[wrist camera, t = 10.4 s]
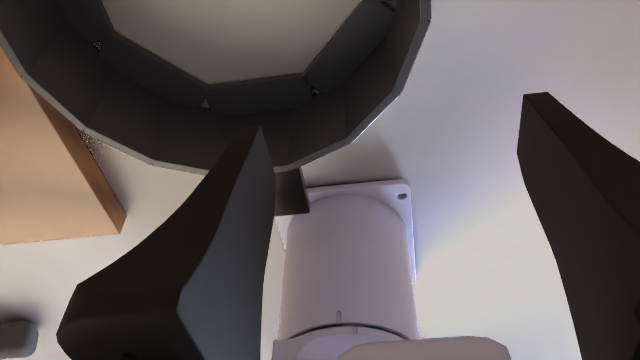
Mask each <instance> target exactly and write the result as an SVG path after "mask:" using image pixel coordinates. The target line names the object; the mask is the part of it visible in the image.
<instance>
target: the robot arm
mask: <svg viewBox="0 0 640 360" xmlns="http://www.w3.org/2000/svg"><path fill="white" fill-rule="evenodd" d="M517 156H518V160H519V164H520V168H521V172H522V176H523V179H524V183H525V186H526V188H527V191H528V193H529V196H530V198H531V201H532V203H533V206H534V208H535V210H536V213H537V215H538V217H539V220H540V222H541V225H542V227H543V229H544V232H545V234H546V236H547V239H548V241H549V244H550V246H551V248H552V251H553V254H554V257H555V259H556V262H557V265H558V269H559V272H560V276H561V279H562V283H563V286H564V290H565V293H566V297H567V301H568V305H569V308H570V312H571V316H572V320H573V323H574V327H575V332H576V336H577V340H578V344H579V348H580V352H581V356H582V360H640V162H639V161H638V160H636V159H634V158H633V157H631V156H630V155H628V154H627V153H625V152H624V151H622V150H621V149H619V148H618V147H616V146H615V145H613V144H612V143H610V142H609V141H608V140H606V139H605V138H603V137H602V136H601V135H599V134H598V133H597V132H595V131H594V130H593V129H592V128H590V127H589V126H588V125H586V124H585V123H584V122H583V121H582V120H580V119H579V118H578V117H577V116H575V115H574V114H573V113H572V112H571V111H569V110H568V109H567V108H566V107H565V106H564V105H562V104H561V103H560V102H559V101H558V100H556V99H555V98H554V97H553V96H552V95H551V94H549V93H548V92H542V93H533V94H524V95H523V103H522V112H521V120H520V129H519V138H518V147H517ZM306 189H307V193H308V197H309V201H310V213H308V214H298V215H287V216H276V217H274V213H275V200H276V176H275V172H274V169H273V166H272V162H271V159H270V155H269V152H268V149H267V145H266V142H265V138H264V135H263V132H262V128H261V125H256V126H248V127H240V128H239V129H238V130H237V132H236V133H235V135H234V136H233V138H232V139H231V141H230V142H229V144H228V145H227V146H226V148H225V149H224V151H223V152H222V154H221V155H220V157H219V158H218V160H217V161H216V162H215V164H214V165H213V166H212V168H211V169H210V171H209V172H208V173H207V175H206V176H205V177H204V179H203V180H202V181H201V182H200V184H199V185H198V186H197V187H196V189H195V190H194V191H193V192H192V193H191V195H190V196H189V197H188V198H187V199H186V201H185V202H184V203H183V204H182V205H181V206H180V207H179V208H178V209H177V210H176V211H175V212H174V213H173V214H172V215H171V216H170V217H169V218H168V219H167V220H166V221H165V222H164V223H163V224H162V225H160V226H159V227H158V228H157V229H156V230H155V231H153V232H152V233H151V234H150V235H149V236H148V237H147V238H145V239H144V240H143V241H142V242H141V243H139V244H138V245H137V246H135V247H134V248H133V249H131V250H130V251H129V252H127V253H126V254H125V255H123V256H122V257H120V258H119V259H118V260H116V261H115V262H113V263H112V264H110V265H109V266H107V267H106V268H104V269H102V270H101V271H99V272H98V273H96V274H94V275H93V276H91V277H89V278H88V279H86V280H85V281H83V282H81V283H79V284H78V285H77V287H76V289H75V291H74V293H73V295H72V297H71V299H70V301H69V304H68V306H67V309H66V311H65V314H64V316H63V318H62V321H61V323H60V326H59V328H58V331H57V333H56V336H57V341H58V343H59V345H60V346H61V348H62V349H63V351H64V352H65V353H66V354H67V355H68V356H69V357H70V358H71V360H260V344H261V316H262V296H263V282H264V274H265V267H266V261H267V255H268V249H269V243H270V237H271V231H272V225H273V219H274V218H275V221H276V224H277V227H278V230H279V234H280V237H281V240H282V243H283V246H284V249H285V264H284V275H283V286H282V298H281V309H280V320H279V331H278V340H274V341H273V350H272V360H511V357H510V354H509V352H508V349H507V347H506V346H504V345H502V344H500V343H498V342H496V341H494V340H492V339H490V338H487V337H474V336H461V337H445V338H429V339H420V336H419V328H418V320H417V312H416V304H415V296H414V288H413V284H415V283H416V268H415V252H414V237H413V222H412V206H411V191H410V184H409V182H408V181H407V180H405V179H395V180H385V181H375V182H365V183H355V184H345V185H335V186H325V187H316V188H306ZM399 193H404V194H402V195H400V194H399Z"/></svg>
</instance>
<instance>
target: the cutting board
mask: <svg viewBox="0 0 640 360" xmlns="http://www.w3.org/2000/svg"><path fill="white" fill-rule="evenodd" d="M20 76H21V75H20ZM20 76H19V75H18V74H17V72H16V70H15V69H14V67H13V66H12V64H11V62H10V61H9V59H8V58H7V56H6V54H5V53H4V51H3V49H2V48H1V46H0V245H5V244H15V243H26V242H37V241H47V240H58V239H69V238H79V237H90V236H101V235H111V234H120V232H121V230H122V227H123V224H124V222H125V219H126V217H127V215H126V213H125V211H124V210H123V208H122V206H121V205H120V203H119V201H118V199H117V198H116V196H115V194H114V193H113V191H112V189H111V187H110V186H109V184H108V182H107V181H106V179H105V177H104V175H103V174H102V172H101V170H100V169H99V167H98V165H97V163H96V162H95V160H94V158H93V157H92V155H91V153H90V151H89V150H88V148H87V146H86V145H85V143H84V141H83V139H82V138H81V136H80V134H79V133H78V131H77V129H76V127H75V126H74V124H73V123H72V122H70V121H69V120H68V119H67V118H66V117H65V116H64V115H62V114H61V113H60V112H59V111H58V110H57V109H56V108H55V107H53V106H52V105H51V104H50V103H49V102H48V101H47V100H45V99H44V98H43V97H42V96H41V95H40V94H39V93H38V92H36V91H35V90H34V89H33V88H32V87H31V86H30V85H28V84H27V83H26V82H25V81H24V80H23V79H22V78H21V77H20Z"/></svg>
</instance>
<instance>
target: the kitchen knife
mask: <svg viewBox="0 0 640 360" xmlns="http://www.w3.org/2000/svg"><path fill="white" fill-rule="evenodd" d="M37 341H38V330H37V328H36V327H35V325H34V324H33V323H32V322H30V321H17V322H11V323H5V324H0V359H6V358H20V357H28V356H30V355H32V354H33V353H34V351H35V349H36V346H37Z"/></svg>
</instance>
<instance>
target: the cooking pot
mask: <svg viewBox="0 0 640 360" xmlns="http://www.w3.org/2000/svg"><path fill="white" fill-rule="evenodd" d="M384 1H391V0H363V1H362V2H361V3H360V4H359V6H358V7H357V8H356V9H355V11H354V12H353V13H352V14H351V15H350V17H349V18H348V19H347V20H346V22H345V23H344V24H343V25H342V26H341V28H340V29H339V30H338V31H337V33H336V34H335V35H334V36H333V37H332V39H331V40H330V41H329V42H328V44H327V45H326V46H325V47H324V48H323V50H322V51H321V52H320V53H319V55H318V56H317V57H316V58H315V59H314V61H313V62H312V63H311V64H310V66H309V67H308V68H307V69H306V70H305V72H304V73H300V74H292V75H284V76H276V77H269V78H261V79H253V80H245V81H237V82H229V83H221V84H214V85H207V84H205V83H203V82H201V81H200V80H198V79H196V78H194V77H193V76H191V75H189V74H187V73H186V72H184V71H182V70H180V69H179V68H177V67H175V66H173V65H172V64H170V63H168V62H166V61H165V60H163V59H161V58H159V57H158V56H156V55H154V54H152V53H151V52H149V51H147V50H145V49H144V48H142V47H140V46H139V45H137V44H135V43H133V42H132V41H130V40H128V39H126V38H125V37H123V36H121V35H119V34H118V33H116V32H115V31H114V29H113V27H112V24H111V22H110V20H109V18H108V16H107V13H106V11H105V9H104V7H103V4H102V2H101V0H0V46H1V48H2V49H3V51H4V53H5V54H6V56H7V58H8V59H9V61H10V62H11V64H12V66H13V67H14V69H15V70H16V72H17V74H18V75H19V76H20V75H21V76H20V77H21V78H22V79H23V80H24V81H25V82H26V83H27V84H28V85H30V86H31V87H32V88H33V89H34V90H35V91H36V92H38V93H39V94H40V95H41V96H42V97H43V98H44V99H45V100H47V101H48V102H49V103H50V104H51V105H52V106H53V107H55V108H56V109H57V110H58V111H59V112H60V113H61V114H62V115H64V116H65V117H66V118H67V119H68V120H69V121H70V122H72V123H73V124H74V125H75V126H76V127H77V128H78V129H80V130H81V131H82V130H83V132H84V133H86V134H88V135H90V136H92V137H94V138H96V139H98V140H100V141H102V142H104V143H106V144H108V145H110V146H112V147H115V148H117V149H119V150H121V151H123V152H125V153H127V154H129V155H131V156H133V157H135V158H137V159H139V160H141V161H143V162H145V163H147V164H150V165H151V164H152V165H153V166H158V167H163V168H168V169H174V170H179V171H184V172H190V173H195V174H201V175H207V173H208V172H209V171H210V169H211V168H212V166H213V165H214V164H215V162H216V161H217V160H218V158H219V157H220V155H221V154H222V152H223V151H224V149H225V148H226V146H227V145H228V144H229V142H230V141H231V139H232V138H233V136H234V135H235V133H236V132H237V130H238V129H239V128H240V127H248V126H256V125H261V128H262V132H263V135H264V138H265V142H266V145H267V149H268V152H269V155H270V159H271V162H272V166H273V169H274V172H275V176H276V200H275V213H274V217H276V216H287V215H298V214H308V213H310V201H309V197H308V193H307V189H306V185H305V181H304V177H303V172H302V168H301V166H303V165H305V164H307V163H309V162H312V161H314V160H316V159H318V158H320V157H323V156H325V155H327V154H329V153H332V152H334V151H336V150H338V149H340V148H343V147H345V146H347V145H349V144H351V142H354V141H355V140H356V139H357V137H358V136H359V135H360V134H361V133H362V132H363V131H364V130H365V129H366V128H367V127H368V126H369V125H370V124H371V123H372V122H373V121H374V120H375V119H376V118H377V117H378V116H379V115H380V114H381V113H382V112H383V111H384V110H385V109H386V108H387V107H388V106H389V105H390V104H391V103H392V102H393V101H394V100H395V99H396V98H397V97H398V96H399V95H400V94H401V92H402V91H403V88H404V86H405V84H406V81H407V79H408V76H409V74H410V71H411V69H412V66H413V64H414V61H415V59H416V57H417V54H418V52H419V49H420V47H421V44H422V42H423V39H424V37H425V34H426V32H427V29H428V27H429V25H430V22H431V21H430V20H431V0H397V2H396V5H395V8H394V9H392V8H391V7H389V6H388V5H387V4H385V3H384ZM101 41H104V42H103V44H102V46H101V48H100V50H98V49H97V48H96V47H95V46H94V45H93V44H92V43H94V42H101ZM311 86H312V87H313V88H315V89H317V90H318V91H320V93H318V94H316V95H314V96H313V94H312V89H311ZM205 99H206V100H207V103H208V106H209V108H207V107H202V106H201V105H202V103H203V102H204V100H205Z"/></svg>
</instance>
